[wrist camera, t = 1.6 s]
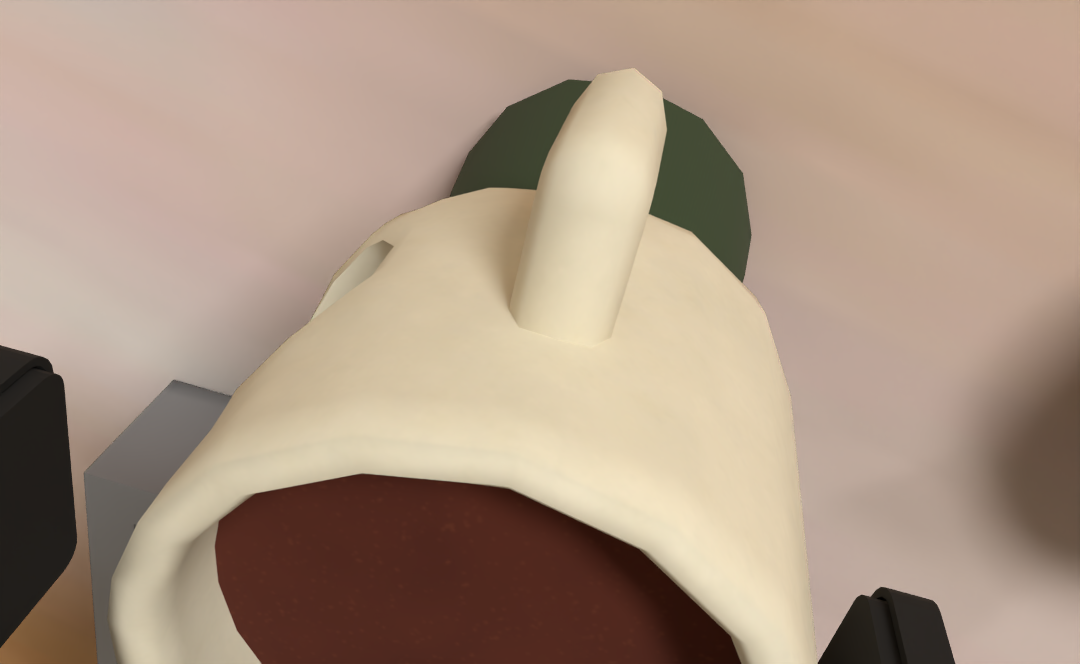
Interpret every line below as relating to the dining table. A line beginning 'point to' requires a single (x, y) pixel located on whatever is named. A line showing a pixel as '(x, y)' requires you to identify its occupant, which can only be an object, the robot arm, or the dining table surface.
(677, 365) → the character mug
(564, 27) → the dining table surface
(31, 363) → the robot arm
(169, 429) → the grey tray
